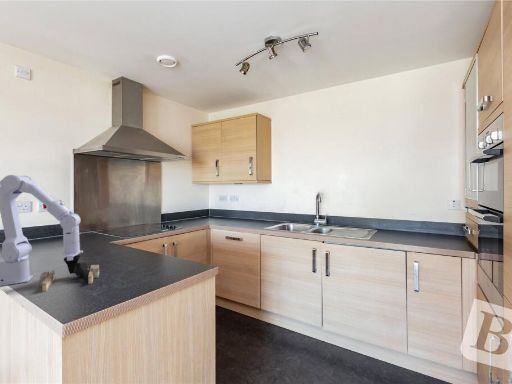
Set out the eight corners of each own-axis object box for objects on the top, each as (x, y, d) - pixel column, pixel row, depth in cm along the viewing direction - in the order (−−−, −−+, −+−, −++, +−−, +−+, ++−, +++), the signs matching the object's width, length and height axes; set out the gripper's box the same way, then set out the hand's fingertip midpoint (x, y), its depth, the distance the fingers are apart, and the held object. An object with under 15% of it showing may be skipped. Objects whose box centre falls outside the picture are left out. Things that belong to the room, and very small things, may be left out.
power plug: (80, 281, 107) (74, 260, 114) (78, 294, 111) (72, 272, 117) (96, 278, 111) (89, 257, 118) (93, 290, 115) (87, 269, 121)
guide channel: (35, 292, 100) (35, 282, 99) (46, 278, 115) (45, 269, 115) (97, 282, 109) (97, 272, 109) (99, 270, 125) (99, 261, 125)
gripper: (80, 244, 112) (82, 276, 113) (83, 238, 125) (85, 267, 125) (60, 246, 109) (61, 279, 109) (65, 239, 122) (66, 269, 122)
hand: (72, 273), depth 117 cm, fingers closed
